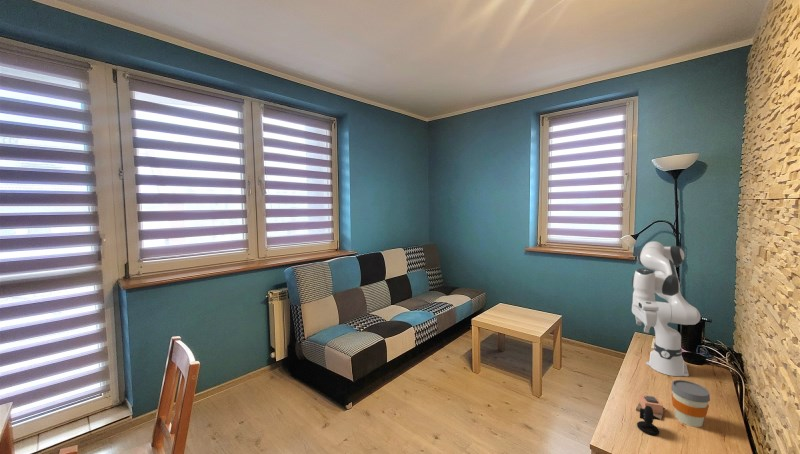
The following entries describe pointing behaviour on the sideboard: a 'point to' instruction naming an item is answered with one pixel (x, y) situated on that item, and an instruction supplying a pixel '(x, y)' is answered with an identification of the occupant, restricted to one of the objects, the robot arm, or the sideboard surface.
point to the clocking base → (652, 400)
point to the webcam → (647, 421)
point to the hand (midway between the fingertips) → (642, 328)
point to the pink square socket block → (651, 404)
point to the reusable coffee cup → (690, 402)
